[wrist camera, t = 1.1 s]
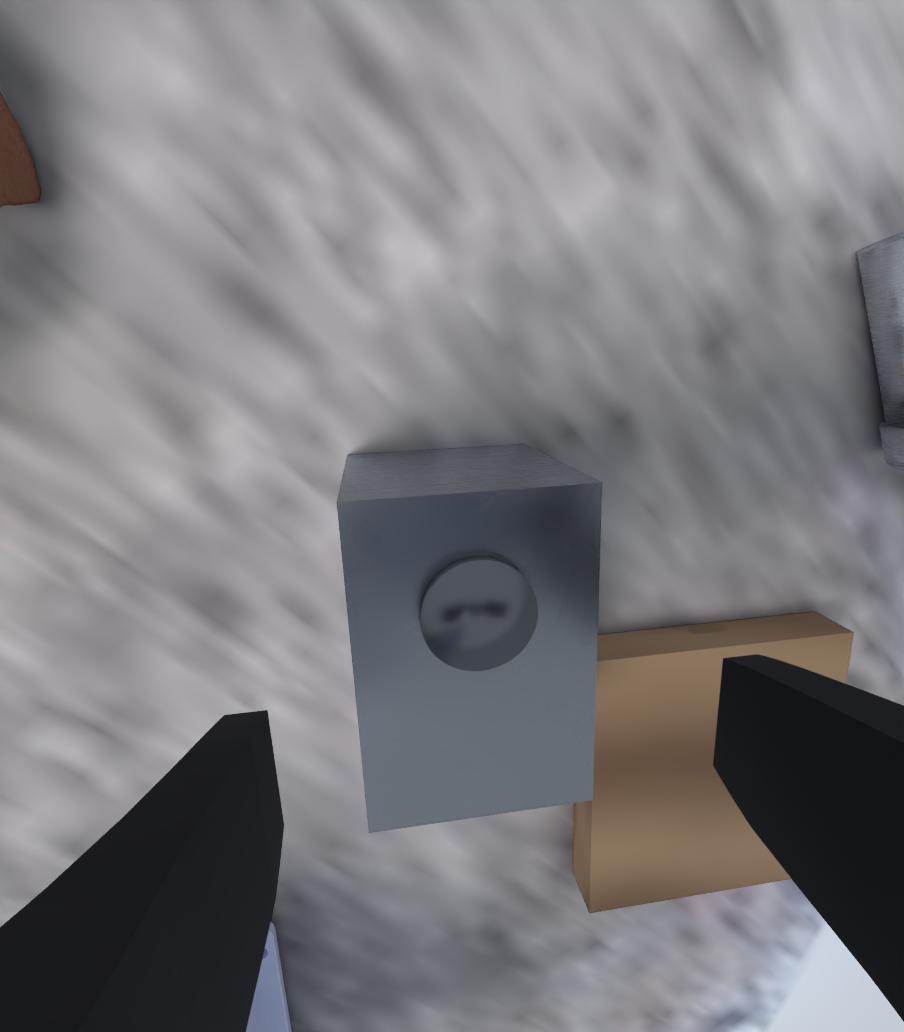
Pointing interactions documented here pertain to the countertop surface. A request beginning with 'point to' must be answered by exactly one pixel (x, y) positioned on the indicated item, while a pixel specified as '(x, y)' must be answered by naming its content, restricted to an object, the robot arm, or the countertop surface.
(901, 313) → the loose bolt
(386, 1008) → the countertop surface
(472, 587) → the block
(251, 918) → the robot arm
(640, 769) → the stand
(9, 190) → the brown irregular piece
